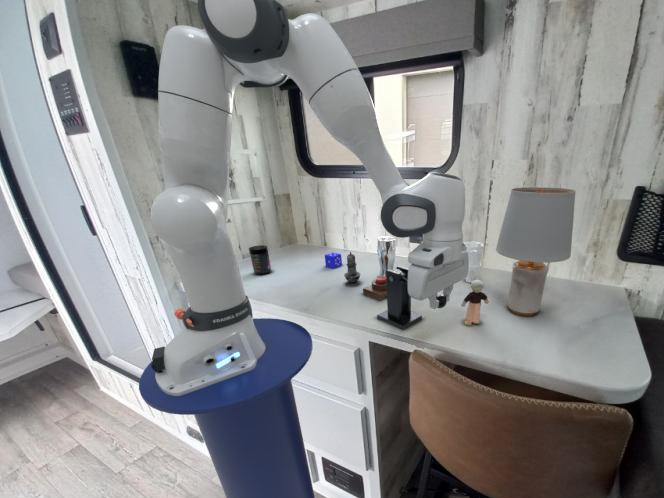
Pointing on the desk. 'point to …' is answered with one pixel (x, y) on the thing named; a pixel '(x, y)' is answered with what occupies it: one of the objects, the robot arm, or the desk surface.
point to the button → (381, 280)
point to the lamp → (535, 241)
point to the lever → (440, 298)
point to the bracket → (398, 301)
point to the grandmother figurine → (474, 302)
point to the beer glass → (386, 254)
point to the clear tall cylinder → (473, 259)
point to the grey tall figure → (352, 271)
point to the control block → (376, 290)
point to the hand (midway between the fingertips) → (439, 304)
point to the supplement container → (260, 260)
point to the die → (333, 260)
